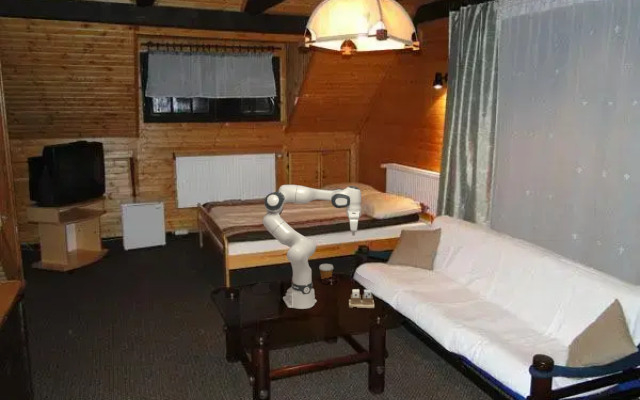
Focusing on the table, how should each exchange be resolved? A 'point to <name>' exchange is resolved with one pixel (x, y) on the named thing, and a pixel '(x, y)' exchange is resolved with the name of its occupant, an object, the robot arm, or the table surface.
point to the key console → (361, 302)
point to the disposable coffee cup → (326, 270)
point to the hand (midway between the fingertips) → (353, 234)
